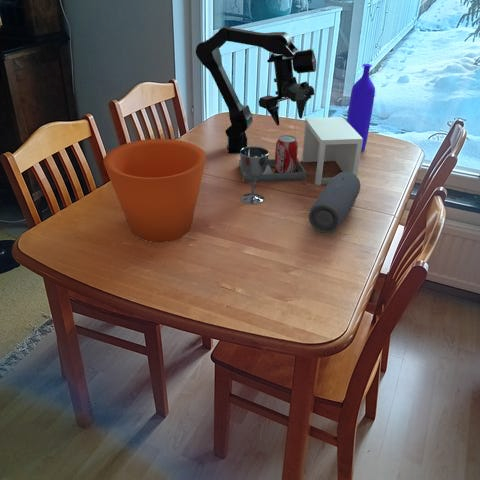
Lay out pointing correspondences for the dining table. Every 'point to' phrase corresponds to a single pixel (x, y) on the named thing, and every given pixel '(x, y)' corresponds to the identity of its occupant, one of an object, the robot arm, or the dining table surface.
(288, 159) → the soda can
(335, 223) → the bluetooth speaker
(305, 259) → the dining table surface
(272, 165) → the tray
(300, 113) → the robot arm
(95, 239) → the dining table surface
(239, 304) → the dining table surface
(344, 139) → the white side table
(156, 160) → the flowerpot
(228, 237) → the dining table surface
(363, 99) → the bottle
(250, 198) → the wine glass
